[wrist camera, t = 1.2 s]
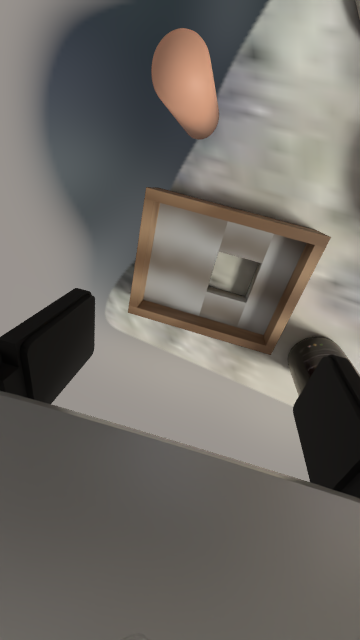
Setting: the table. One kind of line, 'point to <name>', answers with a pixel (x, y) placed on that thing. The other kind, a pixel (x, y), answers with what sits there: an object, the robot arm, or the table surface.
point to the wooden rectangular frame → (198, 262)
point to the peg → (186, 81)
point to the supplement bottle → (310, 358)
